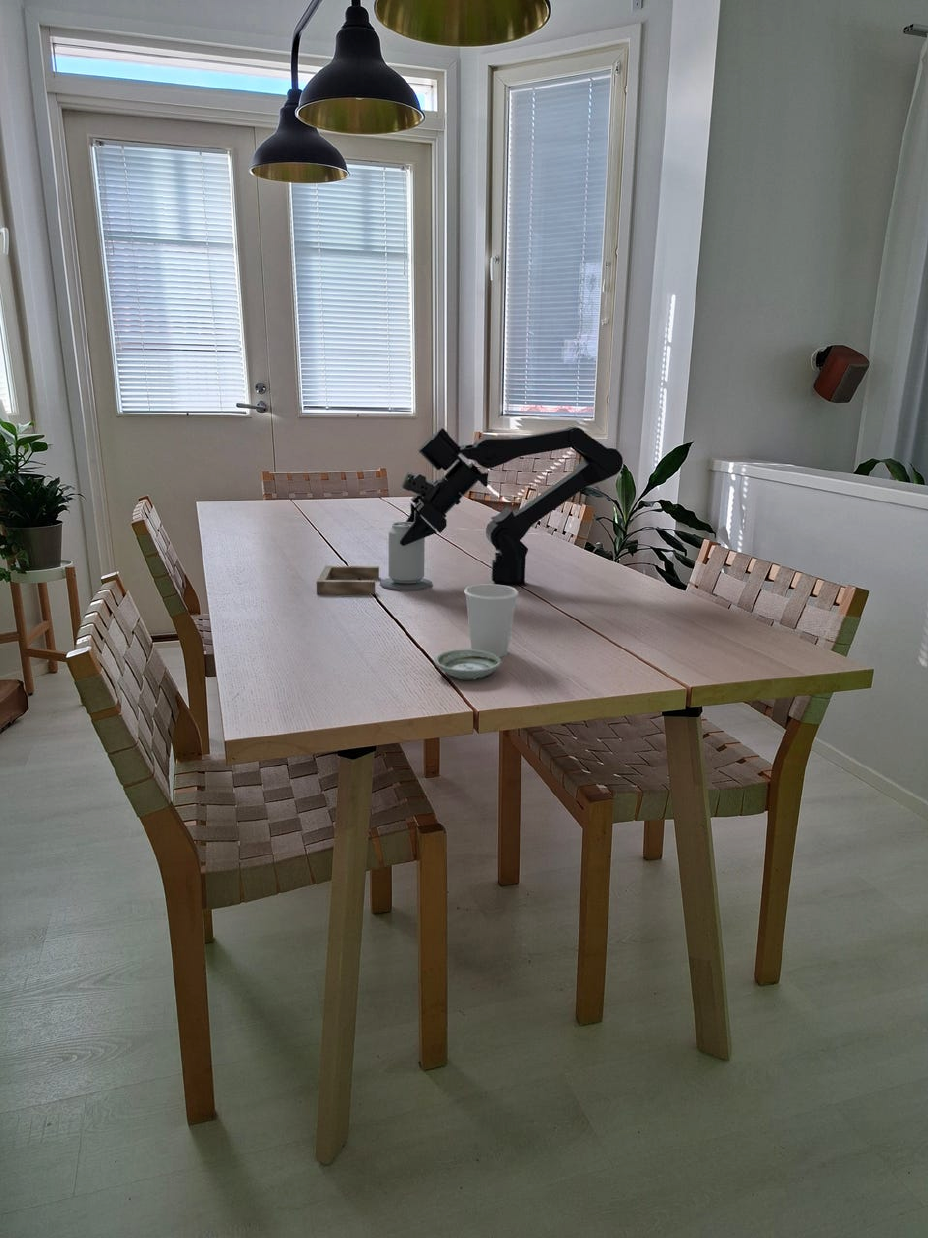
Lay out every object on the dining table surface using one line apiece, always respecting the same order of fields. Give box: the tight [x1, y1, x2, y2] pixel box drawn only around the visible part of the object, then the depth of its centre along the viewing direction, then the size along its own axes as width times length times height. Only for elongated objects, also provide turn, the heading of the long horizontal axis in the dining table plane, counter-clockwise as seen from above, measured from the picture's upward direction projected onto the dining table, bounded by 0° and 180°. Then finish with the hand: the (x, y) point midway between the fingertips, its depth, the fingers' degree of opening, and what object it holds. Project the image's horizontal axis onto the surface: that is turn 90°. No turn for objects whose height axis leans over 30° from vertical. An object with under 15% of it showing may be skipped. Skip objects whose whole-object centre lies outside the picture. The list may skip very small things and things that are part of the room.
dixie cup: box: [463, 583, 519, 658], centre depth 126 cm, size 8×8×10 cm
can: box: [388, 521, 426, 583], centre depth 168 cm, size 8×8×12 cm
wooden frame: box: [316, 565, 380, 595], centre depth 168 cm, size 12×15×2 cm
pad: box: [379, 577, 433, 592], centre depth 169 cm, size 11×11×1 cm
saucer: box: [433, 648, 502, 680], centre depth 117 cm, size 10×10×2 cm
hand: (400, 540), depth 167 cm, fingers closed on can, 7 cm apart
